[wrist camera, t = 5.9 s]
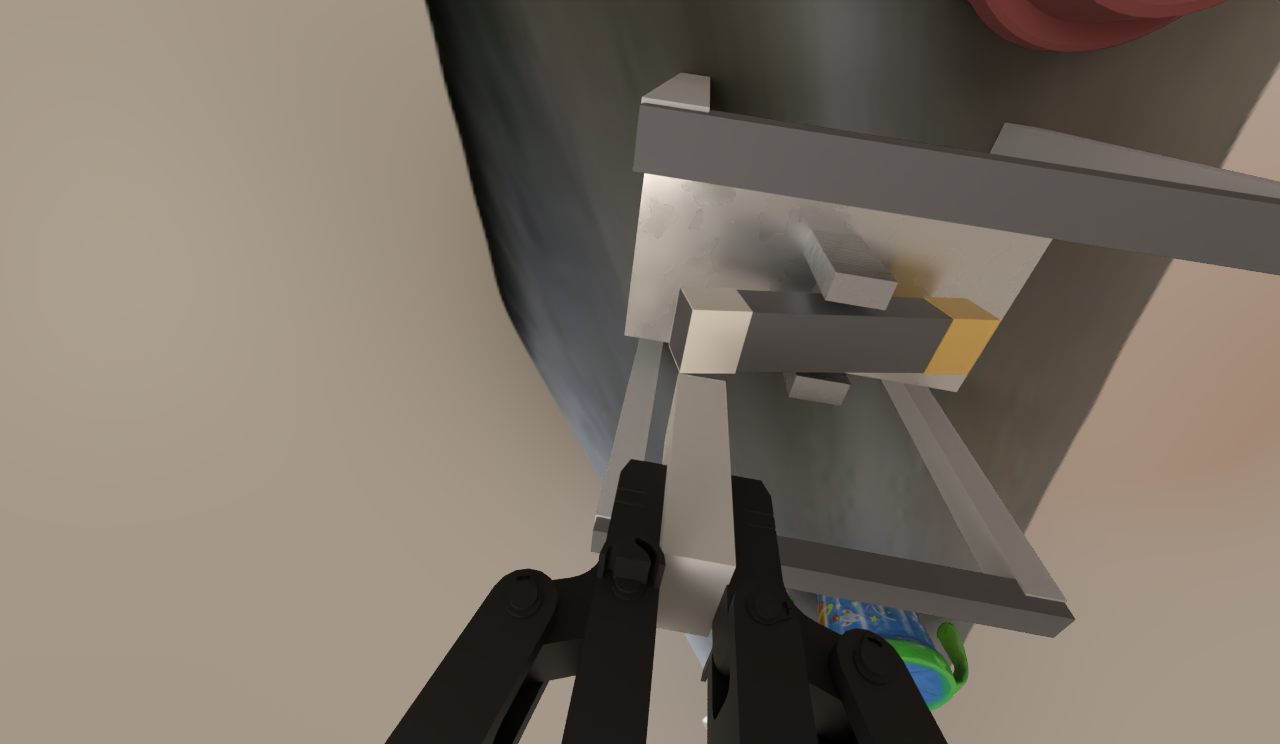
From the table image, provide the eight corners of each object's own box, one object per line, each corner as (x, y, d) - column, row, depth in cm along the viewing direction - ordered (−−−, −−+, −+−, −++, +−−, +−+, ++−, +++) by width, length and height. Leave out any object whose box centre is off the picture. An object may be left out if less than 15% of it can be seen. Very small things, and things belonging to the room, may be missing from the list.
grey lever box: (658, 146, 28) (627, 199, 18) (982, 197, 28) (1145, 283, 17) (638, 288, 33) (607, 394, 23) (911, 334, 33) (1004, 463, 22)
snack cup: (961, 568, 45) (1018, 685, 37) (902, 624, 51) (940, 736, 43) (801, 528, 45) (823, 638, 36) (762, 589, 51) (772, 695, 42)
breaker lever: (679, 285, 19) (693, 309, 18) (966, 298, 22) (1001, 320, 21) (668, 345, 21) (679, 373, 19) (937, 350, 24) (967, 374, 22)
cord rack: (681, 72, 26) (638, 99, 11) (1035, 127, 25) (1538, 239, 10) (642, 334, 35) (589, 552, 20) (900, 379, 35) (1053, 639, 19)
